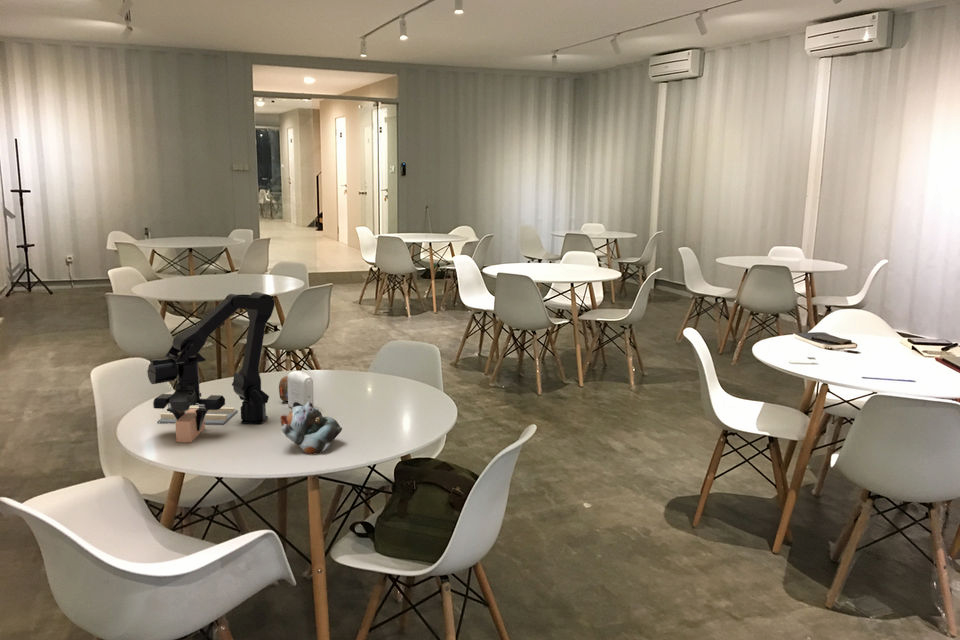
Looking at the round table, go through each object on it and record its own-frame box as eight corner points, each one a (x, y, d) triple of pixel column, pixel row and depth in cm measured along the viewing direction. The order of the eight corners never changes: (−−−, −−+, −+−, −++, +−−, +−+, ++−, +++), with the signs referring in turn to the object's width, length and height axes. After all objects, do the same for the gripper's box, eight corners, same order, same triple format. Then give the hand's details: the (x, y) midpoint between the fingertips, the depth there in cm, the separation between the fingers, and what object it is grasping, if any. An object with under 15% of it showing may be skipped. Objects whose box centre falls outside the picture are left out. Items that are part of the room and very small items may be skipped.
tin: (286, 404, 251) (285, 380, 249) (277, 404, 251) (276, 379, 250) (305, 392, 265) (305, 369, 264) (297, 391, 266) (296, 368, 264)
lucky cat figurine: (318, 458, 204) (291, 414, 201) (290, 465, 211) (264, 423, 208) (350, 427, 216) (325, 386, 213) (323, 435, 223) (298, 395, 220)
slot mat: (237, 411, 242) (237, 405, 242) (223, 424, 229) (223, 418, 229) (175, 410, 242) (174, 403, 242) (157, 423, 230) (156, 416, 229)
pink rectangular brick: (205, 428, 226) (204, 408, 225) (190, 442, 214) (189, 421, 213) (191, 428, 226) (190, 408, 225) (176, 442, 214) (175, 421, 213)
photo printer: (315, 411, 244) (314, 373, 242) (304, 414, 241) (303, 376, 239) (297, 404, 251) (296, 367, 249) (286, 406, 248) (285, 370, 246)
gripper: (142, 384, 209) (146, 439, 212) (210, 386, 209) (213, 440, 212) (160, 374, 220) (163, 426, 223) (224, 376, 220) (226, 427, 223)
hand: (190, 430), depth 220 cm, fingers closed on pink rectangular brick, 4 cm apart
